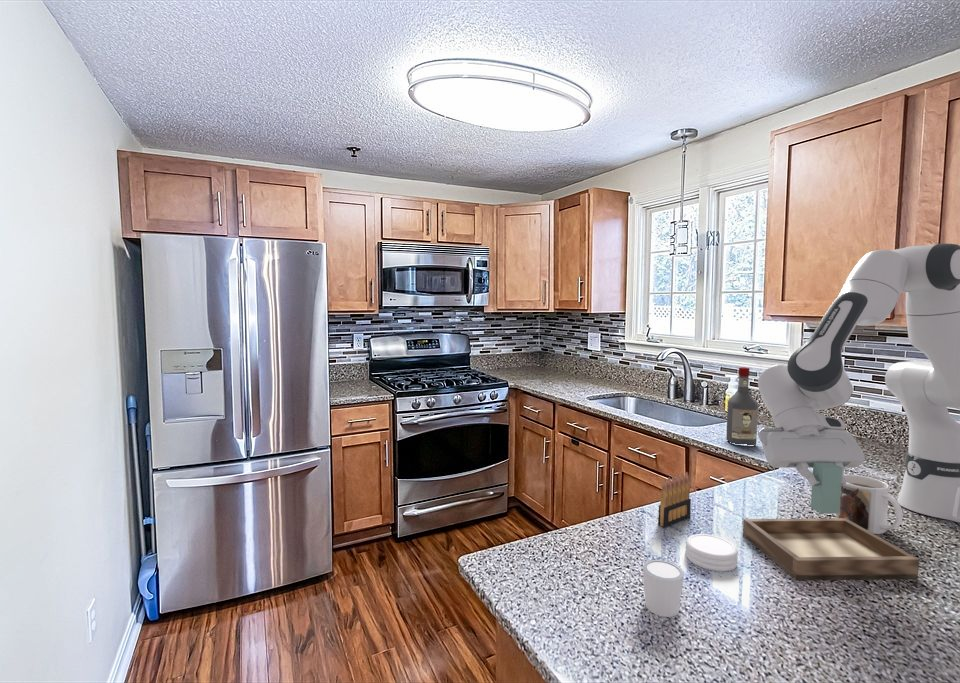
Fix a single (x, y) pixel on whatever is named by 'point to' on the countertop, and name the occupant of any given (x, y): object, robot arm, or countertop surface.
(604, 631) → the countertop surface
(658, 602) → the white cylinder
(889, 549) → the wooden serving tray
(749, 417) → the liquor
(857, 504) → the mug
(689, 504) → the ammunition clip
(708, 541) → the white round disc stack
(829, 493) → the grey-green rectangular block
